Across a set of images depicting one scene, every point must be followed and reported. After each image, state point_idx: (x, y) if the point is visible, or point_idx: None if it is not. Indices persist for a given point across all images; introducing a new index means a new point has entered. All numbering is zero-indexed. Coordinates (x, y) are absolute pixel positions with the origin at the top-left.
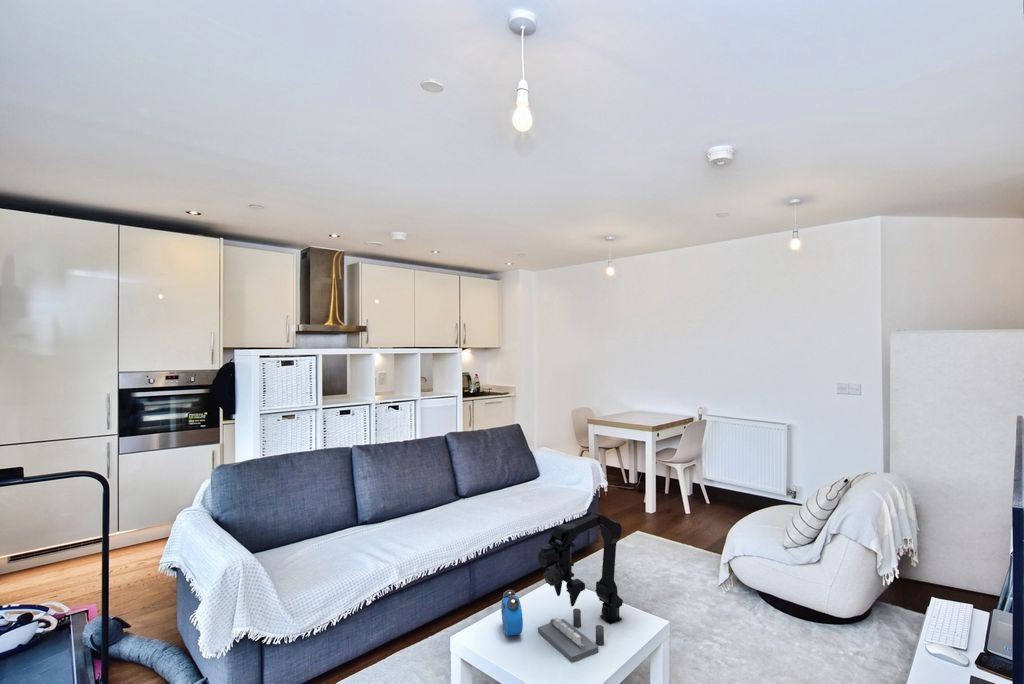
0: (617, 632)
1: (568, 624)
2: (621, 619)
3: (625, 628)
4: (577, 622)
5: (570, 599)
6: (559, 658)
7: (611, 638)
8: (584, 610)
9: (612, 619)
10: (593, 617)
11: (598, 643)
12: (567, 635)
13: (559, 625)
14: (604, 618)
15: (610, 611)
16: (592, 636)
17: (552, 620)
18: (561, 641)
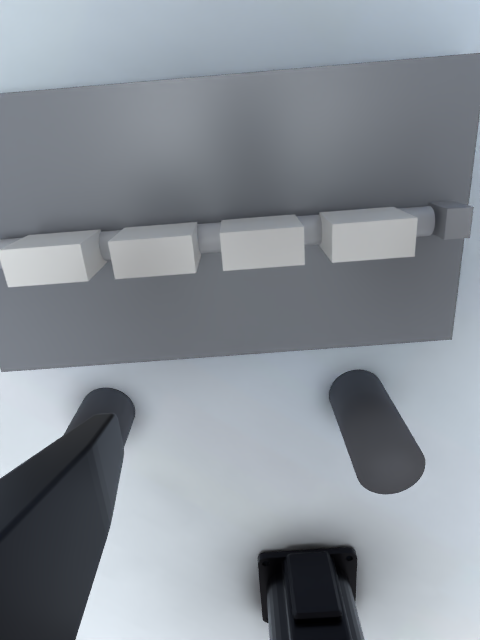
0: (170, 541)
1: (357, 333)
2: (263, 615)
3: (186, 588)
4: (341, 403)
5: (19, 496)
6: (30, 33)
7: (129, 489)
8: (471, 513)
9: (271, 585)
10: (374, 516)
11: (86, 399)
12: (178, 224)
13: (324, 227)
14: (302, 559)
15: (282, 628)
16: (196, 411)
17: (446, 217)
18: (164, 144)
